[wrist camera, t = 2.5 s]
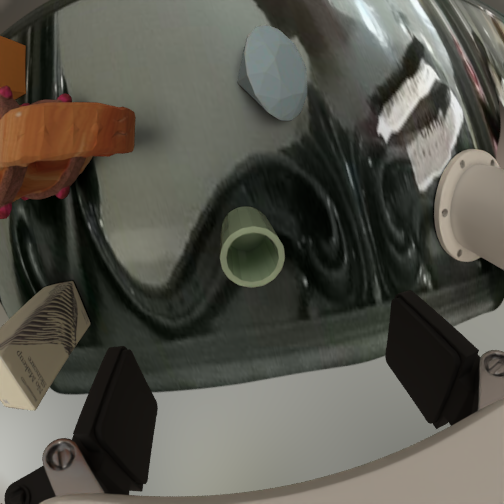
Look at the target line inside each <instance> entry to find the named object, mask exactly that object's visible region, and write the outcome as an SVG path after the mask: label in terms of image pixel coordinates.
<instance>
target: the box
mask: <svg viewBox="0 0 504 504" xmlns="http://www.w3.org/2000/svg"><path fill="white" fill-rule="evenodd" d="M89 326H90V321H89V318H88V316H87V313H86V311H85V309H84V306H83V304H82V301H81V299H80V296H79V294H78V292H77V289H76V287H75V284H74V282H73V281H69V282H63V283H58V284H54V285H50V286H46V287H44V288H43V289H42V290H41V291H39V292H38V293H37V294H36V295H35V296H34V297H33V298H32V299H30V300H29V301H28V302H27V303H26V304H25V305H24V306H23V307H22V308H21V309H20V310H19V311H17V312H16V313H15V314H14V315H13V316H12V317H11V318H10V319H9V320H8V321H7V322H6V323H5V324H4V325H3V326H2V327H1V328H0V401H1V402H2V403H3V405H4V406H6V407H9V408H16V409H25V410H36V409H37V407H38V406H39V404H40V402H41V400H42V399H43V397H44V395H45V394H46V392H47V390H48V389H49V387H50V385H51V384H52V382H53V380H54V379H55V377H56V376H57V374H58V372H59V371H60V369H61V368H62V366H63V364H64V363H65V361H66V360H67V358H68V357H69V355H70V354H71V352H72V351H73V349H74V348H75V346H76V345H77V343H78V342H79V340H80V339H81V337H82V336H83V334H84V333H85V331H86V330H87V329H88V327H89Z"/></svg>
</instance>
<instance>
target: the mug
mask: <svg viewBox="0 0 504 504" xmlns="http://www.w3.org/2000/svg"><path fill="white" fill-rule="evenodd" d="M134 137H135V114H134V112H133V111H132V110H130V109H128V108H125V107H115V106H110V105H106V104H101V103H90V102H72V99H71V96H70V95H69V94H62V95H60V96H59V97H58V99H56V100H41V101H37V102H35V103H32V104H31V105H30V104H29V103H24V104H23V105H18V103H17V102H16V101H15V100H14V99H13V94H12V91H11V89H10V87H8V86H7V85H6V86H3V87H1V88H0V219H5V218H7V217H8V216H9V214H10V212H11V209H12V202H13V201H15V200H17V199H19V198H22V199H23V200H28V199H43V198H47V197H50V196H53V195H56V197H58V198H59V199H64V198H66V197H67V195H68V194H69V189H70V186H71V185H72V183H73V182H74V181H75V180H76V179H77V178H78V175H79V174H81V173H82V172H83V170H84V169H85V167H86V166H87V165H88V163H89V162H90V160H91V159H92V157H93V156H111V155H113V154H116V153H122V154H123V153H129V152H132V151H133V149H134Z"/></svg>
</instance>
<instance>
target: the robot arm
mask: <svg viewBox="0 0 504 504" xmlns="http://www.w3.org/2000/svg"><path fill="white" fill-rule="evenodd" d="M434 220H435V228H436V233H437V237H438V239H439V242H440V244H441V246H442V247H443V249H444V250H445V252H447V253H448V254H449V255H450V256H451V257H453V258H455V259H456V260H459V261H462V262H471V261H474V260H477V259H478V258H480V257H482V258H484V259H485V260H487V261H489V262H491V263H492V264H494V265H496V266H497V267H499V268H501V269H503V270H504V169H502V168H500V166H499V164H498V163H497V161H496V160H495V159H494V158H493V157H492V156H491V155H490V154H489V153H487V152H485V151H483V150H478V149H467V150H464V151H462V152H460V153H459V154H457V155H456V156H455V157H454V158H453V159H452V160H451V161H450V162H449V163H448V165H447V167H446V168H445V170H444V172H443V174H442V176H441V178H440V181H439V185H438V188H437V191H436V197H435V205H434ZM478 351H479V350H478V349H477V348H476V347H474V345H472V344H471V343H470V342H469V341H468V340H467V339H466V338H465V337H464V336H463V335H462V334H461V333H460V332H458V331H457V330H456V329H455V328H454V327H453V326H452V325H451V324H450V323H448V322H447V321H446V320H445V319H444V318H443V317H442V316H441V315H439V314H438V313H437V312H436V311H435V310H434V309H433V308H431V307H430V306H429V305H428V304H427V303H426V302H425V301H423V300H422V299H421V298H420V297H419V296H417V295H416V294H415V293H414V292H413V291H411V290H409V291H405V292H402V293H398V294H396V296H395V299H393V300H392V303H391V313H390V323H389V332H388V340H387V348H386V356H385V357H386V362H387V364H388V365H389V367H390V368H391V369H392V371H393V372H394V374H395V375H396V377H397V378H398V379H399V381H400V382H401V384H402V385H403V387H404V388H405V389H406V391H407V392H408V394H409V395H410V397H411V398H412V400H413V401H414V402H415V404H416V405H417V407H418V408H419V410H420V411H421V413H422V414H423V416H424V417H425V419H426V420H427V422H428V423H433V425H434V426H435V428H436V429H438V428H439V427H441V426H443V425H445V424H447V423H448V422H449V423H450V425H451V426H450V427H448V428H446V429H444V430H442V431H441V432H438V433H436V434H434V435H432V436H430V437H428V438H426V439H424V440H422V441H420V442H418V443H416V444H414V445H411V446H410V447H407V448H405V449H402V450H400V451H398V452H396V453H393V454H390V455H388V456H386V457H383V458H380V459H378V460H375V461H372V462H369V463H367V464H364V465H361V466H358V467H355V468H352V469H349V470H346V471H342V472H339V473H336V474H332V475H329V476H325V477H321V478H317V479H314V480H309V481H305V482H301V483H296V484H292V485H287V486H281V487H276V488H270V489H264V490H258V491H250V492H243V493H234V494H224V495H211V496H187V497H186V496H185V497H160V496H134V495H129V490H130V491H142V489H143V484H146V483H147V480H148V472H149V463H150V456H151V448H152V442H153V435H154V429H155V422H156V416H157V409H158V408H157V402H156V400H155V398H154V396H153V394H152V392H151V390H150V388H149V386H148V384H147V382H146V380H145V378H144V376H143V374H142V372H141V370H140V368H139V366H138V364H137V362H136V359H135V357H134V355H133V353H132V351H131V350H127V348H126V347H124V346H119V347H110V348H109V349H108V350H107V352H106V355H105V357H104V359H103V361H102V364H101V366H100V368H99V370H98V373H97V375H96V377H95V380H94V382H93V384H92V387H91V389H90V392H89V394H88V397H87V399H86V402H85V404H84V406H83V409H82V411H81V414H80V417H79V419H78V422H77V425H76V427H75V430H74V433H73V434H74V435H73V438H72V440H71V439H66V438H61V439H57V440H55V441H53V442H51V443H50V444H49V445H48V446H47V447H46V449H45V450H44V453H43V457H42V460H43V465H44V466H42V467H40V468H39V469H37V470H35V471H34V472H32V473H30V474H28V475H27V476H25V477H23V478H21V479H20V480H18V481H16V482H14V483H12V484H11V485H10V486H9V487H8V489H7V490H6V493H5V504H504V352H502V351H499V350H491V351H488V352H486V353H484V354H483V355H482V356H481V357H479V356H478ZM1 504H2V503H1Z"/></svg>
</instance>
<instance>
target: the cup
mask: <svg viewBox="0 0 504 504" xmlns="http://www.w3.org/2000/svg"><path fill="white" fill-rule="evenodd" d="M284 260H285V253H284V247H283V244H282V243H281V241H280V239H279V238H278V236H277V234H276V233H275V231H274V230H273V228H272V226H271V225H270V223H269V221H268V220H267V218H266V216H265V215H264V214H263V213H262V212H261V211H259V210H258V209H255V208H253V207H239V208H236V209H234V210H232V211H231V212H229V213H228V214H227V216H226V217H225V218H224V220H223V222H222V226H221V235H220V262H221V266H222V270H223V271H224V273H225V274H226V276H227V277H228V278H229V279H230V280H231V281H233V282H235V283H236V284H238V285H240V286H245V287H258V286H263V285H265V284H267V283H269V282H270V281H272V280H274V279H275V277H276V276H277V275H278V274H279V272H280V271H281V270H282V267H283V264H284Z"/></svg>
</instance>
